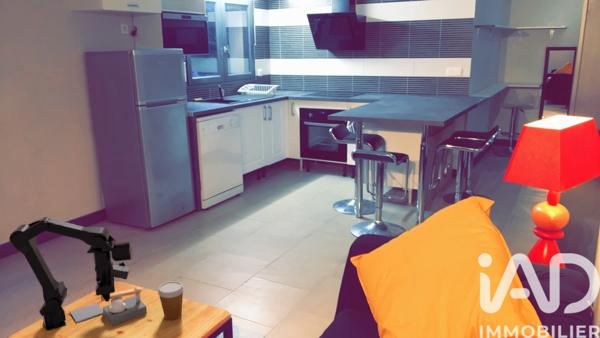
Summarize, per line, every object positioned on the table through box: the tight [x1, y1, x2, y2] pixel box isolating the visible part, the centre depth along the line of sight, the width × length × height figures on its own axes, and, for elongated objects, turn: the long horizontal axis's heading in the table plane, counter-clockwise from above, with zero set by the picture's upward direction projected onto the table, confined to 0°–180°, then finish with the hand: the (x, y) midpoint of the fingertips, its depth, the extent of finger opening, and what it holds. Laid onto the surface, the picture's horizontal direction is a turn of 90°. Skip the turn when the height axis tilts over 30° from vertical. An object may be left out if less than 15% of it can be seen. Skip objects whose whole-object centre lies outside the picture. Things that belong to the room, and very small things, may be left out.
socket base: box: [102, 292, 148, 326], centre depth 177 cm, size 13×10×7 cm
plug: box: [109, 297, 126, 314], centre depth 175 cm, size 6×6×7 cm
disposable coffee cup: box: [157, 280, 185, 321], centre depth 175 cm, size 10×10×12 cm
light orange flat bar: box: [100, 286, 142, 302], centre depth 177 cm, size 14×3×1 cm, turn 116°
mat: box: [69, 302, 104, 324], centre depth 178 cm, size 10×9×1 cm
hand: (107, 301), depth 173 cm, fingers closed
